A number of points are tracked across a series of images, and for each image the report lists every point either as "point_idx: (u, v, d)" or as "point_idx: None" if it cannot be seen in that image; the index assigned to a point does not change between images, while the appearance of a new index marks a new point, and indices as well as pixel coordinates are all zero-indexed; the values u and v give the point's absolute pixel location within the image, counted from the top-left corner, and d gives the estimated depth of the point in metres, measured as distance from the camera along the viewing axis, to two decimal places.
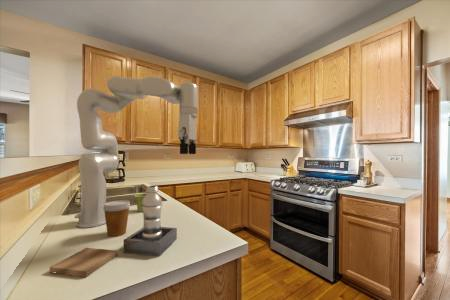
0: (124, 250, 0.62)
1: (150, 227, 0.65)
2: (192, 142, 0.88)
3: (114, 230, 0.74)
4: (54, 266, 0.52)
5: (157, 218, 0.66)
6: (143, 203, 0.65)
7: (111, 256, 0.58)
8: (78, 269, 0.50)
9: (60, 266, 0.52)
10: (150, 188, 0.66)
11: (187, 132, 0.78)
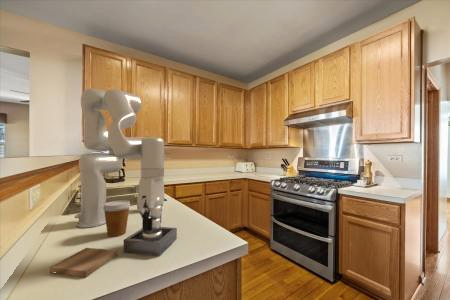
0: (124, 250, 0.62)
1: None
2: None
3: (114, 230, 0.74)
4: (54, 266, 0.52)
5: (157, 218, 0.66)
6: None
7: (111, 256, 0.58)
8: (78, 269, 0.50)
9: (60, 266, 0.52)
10: None
11: (148, 202, 0.62)
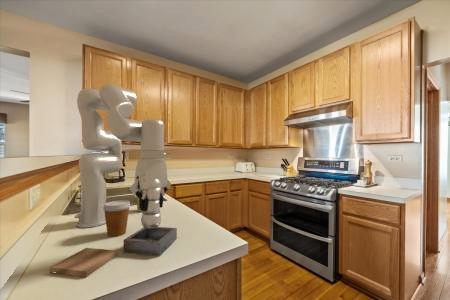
0: (124, 250, 0.62)
1: None
2: (161, 191, 0.71)
3: (114, 230, 0.74)
4: (54, 266, 0.52)
5: (152, 200, 0.66)
6: None
7: (111, 256, 0.58)
8: (78, 269, 0.50)
9: (60, 266, 0.52)
10: None
11: (140, 183, 0.63)
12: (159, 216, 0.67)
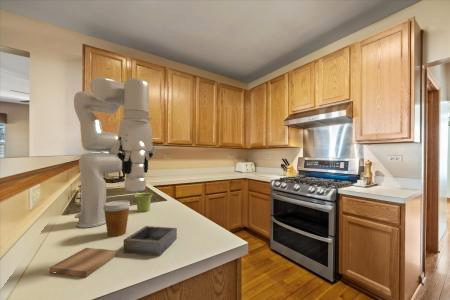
0: (124, 250, 0.62)
1: None
2: None
3: (114, 230, 0.74)
4: (54, 266, 0.52)
5: (136, 163, 0.62)
6: None
7: (111, 256, 0.58)
8: (78, 269, 0.50)
9: (60, 266, 0.52)
10: None
11: (122, 143, 0.60)
12: (143, 180, 0.64)
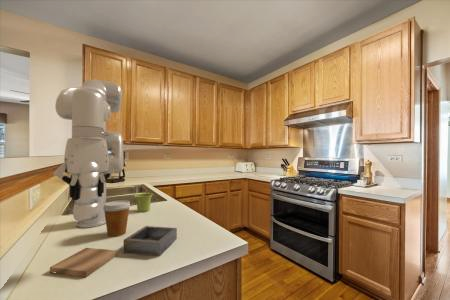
0: (124, 250, 0.62)
1: (78, 196, 0.54)
2: None
3: (114, 230, 0.74)
4: (54, 266, 0.52)
5: (86, 187, 0.54)
6: None
7: (111, 256, 0.58)
8: (78, 269, 0.50)
9: (60, 266, 0.52)
10: None
11: (67, 165, 0.52)
12: (95, 206, 0.56)
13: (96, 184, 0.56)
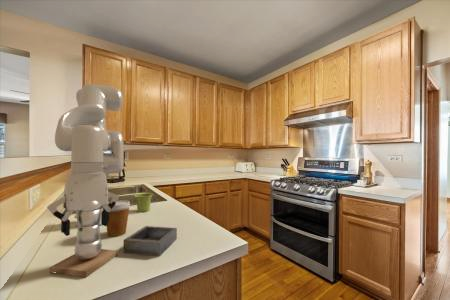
0: (124, 250, 0.62)
1: (79, 235, 0.54)
2: None
3: (114, 230, 0.74)
4: (54, 266, 0.52)
5: (87, 226, 0.55)
6: None
7: (111, 256, 0.58)
8: (78, 269, 0.50)
9: (60, 266, 0.52)
10: None
11: (66, 203, 0.52)
12: (97, 244, 0.56)
13: (97, 221, 0.57)
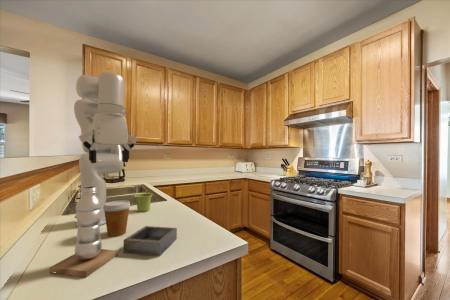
0: (124, 250, 0.62)
1: (79, 235, 0.54)
2: None
3: (114, 230, 0.74)
4: (54, 266, 0.52)
5: (87, 226, 0.55)
6: None
7: (111, 256, 0.58)
8: (78, 269, 0.50)
9: (60, 266, 0.52)
10: (82, 189, 0.56)
11: (94, 136, 0.62)
12: (97, 244, 0.56)
13: (97, 221, 0.57)
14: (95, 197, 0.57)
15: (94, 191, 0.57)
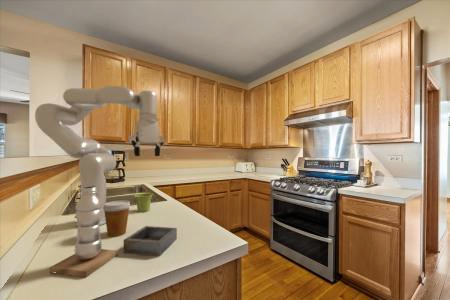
0: (124, 250, 0.62)
1: (79, 235, 0.54)
2: None
3: (114, 230, 0.74)
4: (54, 266, 0.52)
5: (87, 226, 0.55)
6: None
7: (111, 256, 0.58)
8: (78, 269, 0.50)
9: (60, 266, 0.52)
10: (82, 189, 0.56)
11: (138, 136, 0.86)
12: (97, 244, 0.56)
13: (97, 221, 0.57)
14: (95, 197, 0.57)
15: (94, 191, 0.57)
